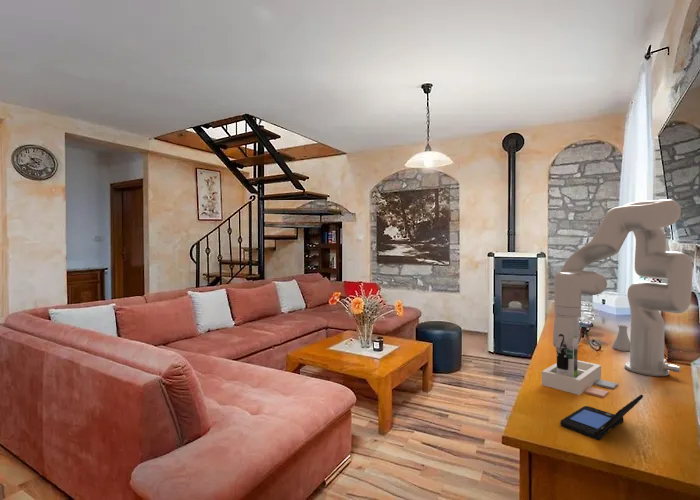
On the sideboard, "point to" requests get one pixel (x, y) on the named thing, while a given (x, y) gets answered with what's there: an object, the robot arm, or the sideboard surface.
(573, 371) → the syrup box
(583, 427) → the game console
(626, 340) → the flask
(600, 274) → the robot arm
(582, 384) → the socket block
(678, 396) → the sideboard surface
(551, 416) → the sideboard surface
